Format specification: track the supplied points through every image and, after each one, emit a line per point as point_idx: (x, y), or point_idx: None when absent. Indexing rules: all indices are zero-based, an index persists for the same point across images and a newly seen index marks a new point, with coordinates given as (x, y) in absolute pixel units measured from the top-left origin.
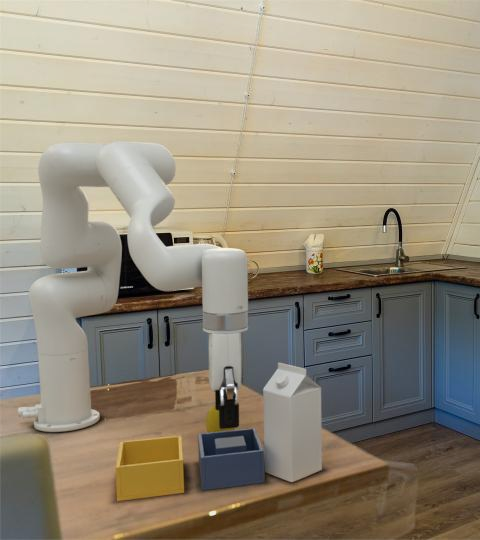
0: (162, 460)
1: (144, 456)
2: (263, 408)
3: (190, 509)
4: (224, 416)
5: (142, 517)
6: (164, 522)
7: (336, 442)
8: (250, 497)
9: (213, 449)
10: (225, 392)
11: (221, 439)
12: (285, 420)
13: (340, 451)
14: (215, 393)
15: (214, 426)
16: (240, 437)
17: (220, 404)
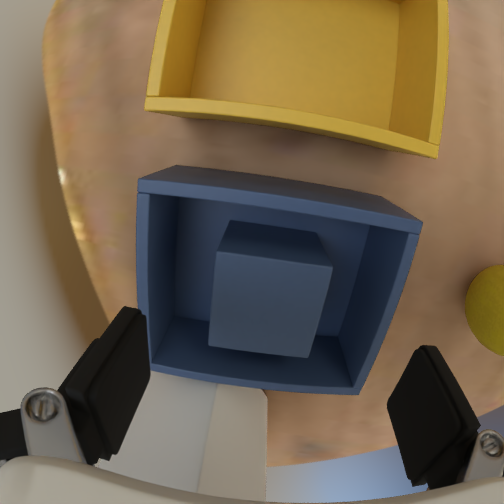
0: (399, 91)
1: (411, 39)
2: (197, 483)
3: (83, 128)
4: (83, 360)
5: (92, 28)
6: (52, 76)
7: (321, 456)
8: (101, 266)
9: (376, 250)
10: (424, 446)
11: (310, 289)
12: (111, 469)
13: (275, 453)
14: (457, 406)
15: (490, 289)
16: (295, 348)
17: (417, 380)
